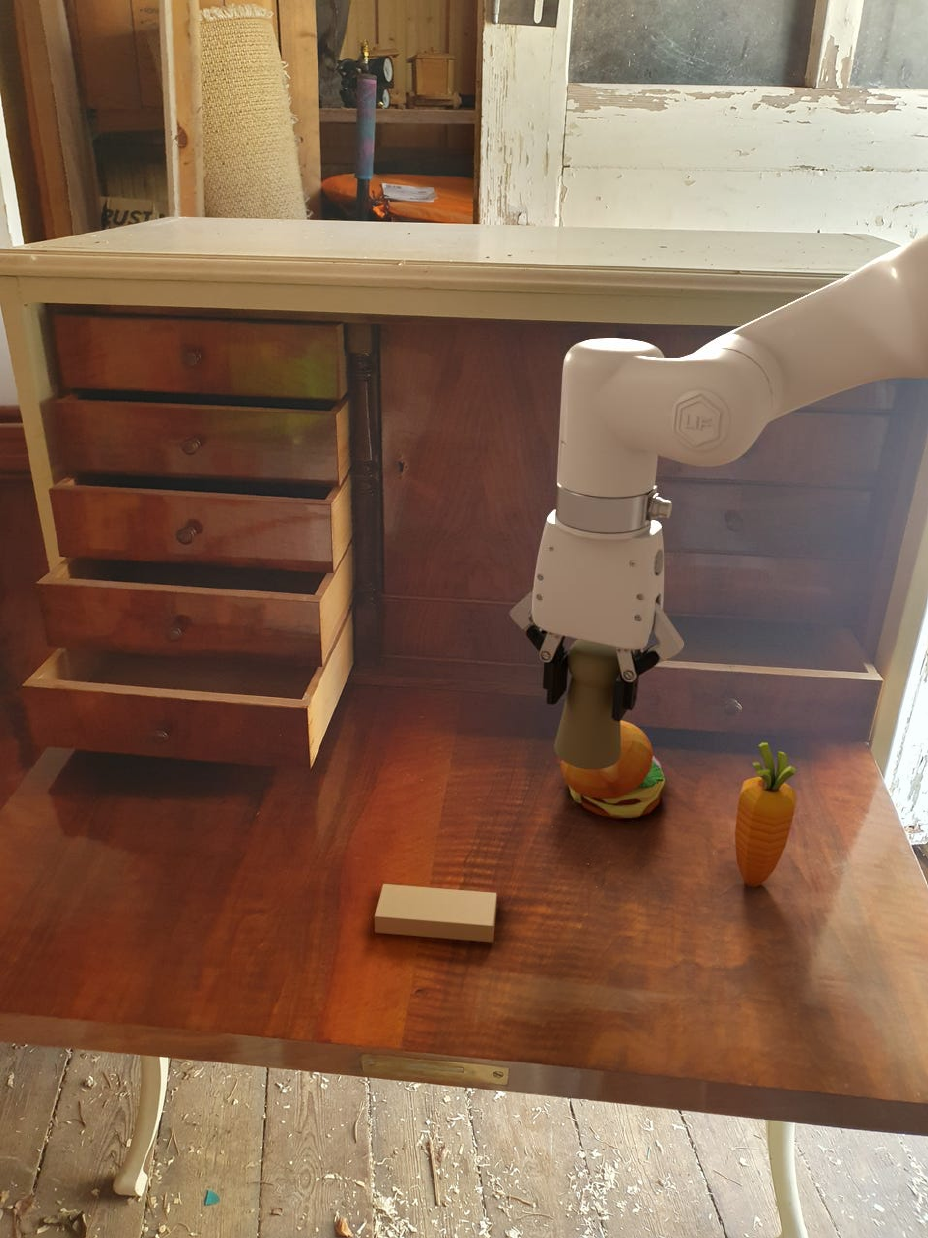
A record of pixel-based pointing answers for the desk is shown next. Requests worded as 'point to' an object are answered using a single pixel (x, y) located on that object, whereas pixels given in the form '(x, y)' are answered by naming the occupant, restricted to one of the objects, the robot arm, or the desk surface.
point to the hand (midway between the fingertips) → (588, 703)
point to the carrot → (764, 818)
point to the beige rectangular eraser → (436, 913)
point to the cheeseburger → (620, 779)
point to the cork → (590, 708)
